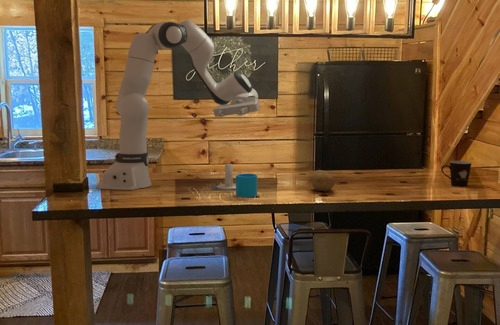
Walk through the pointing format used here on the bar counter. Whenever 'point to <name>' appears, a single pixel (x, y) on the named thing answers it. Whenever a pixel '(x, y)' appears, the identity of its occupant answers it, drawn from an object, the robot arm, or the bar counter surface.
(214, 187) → the mat
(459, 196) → the bar counter surface
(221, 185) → the white post stand
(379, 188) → the bar counter surface
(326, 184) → the potato
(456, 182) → the coffee mug
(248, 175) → the mug
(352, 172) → the bar counter surface
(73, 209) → the bar counter surface
